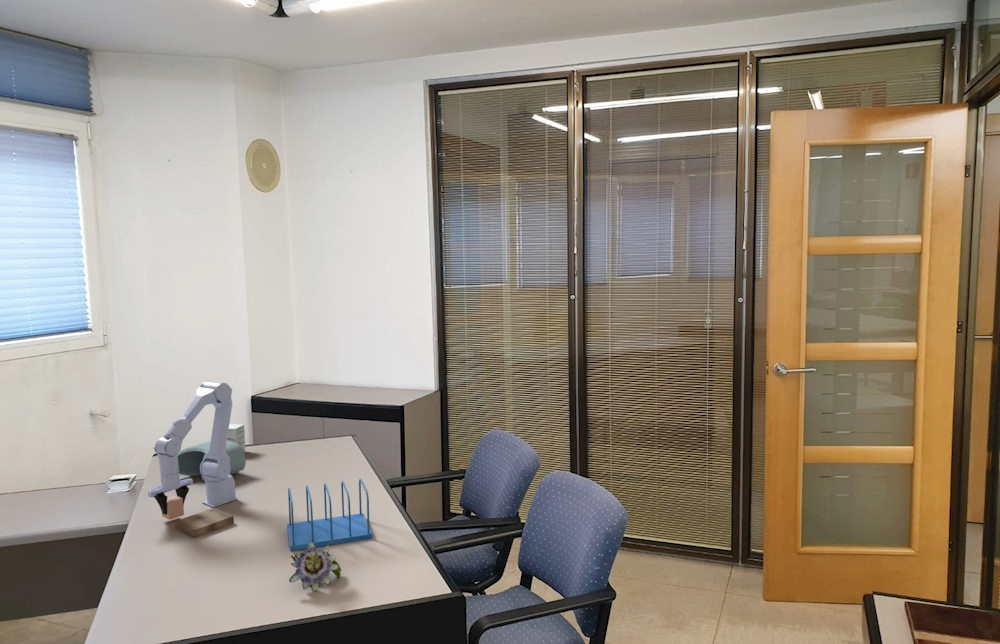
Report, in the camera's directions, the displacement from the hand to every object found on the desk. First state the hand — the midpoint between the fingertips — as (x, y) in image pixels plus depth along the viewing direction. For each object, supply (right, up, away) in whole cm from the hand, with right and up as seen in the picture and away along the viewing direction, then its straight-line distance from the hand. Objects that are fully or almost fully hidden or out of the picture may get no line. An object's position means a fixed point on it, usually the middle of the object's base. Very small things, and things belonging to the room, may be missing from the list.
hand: (172, 510), depth 236 cm
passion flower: (+60, -8, -43) cm, 74 cm away
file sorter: (+56, -5, -12) cm, 58 cm away
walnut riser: (+13, -4, -4) cm, 14 cm away
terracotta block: (0, -2, 0) cm, 2 cm away
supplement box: (-7, +6, +72) cm, 72 cm away
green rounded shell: (-5, +2, +42) cm, 43 cm away
